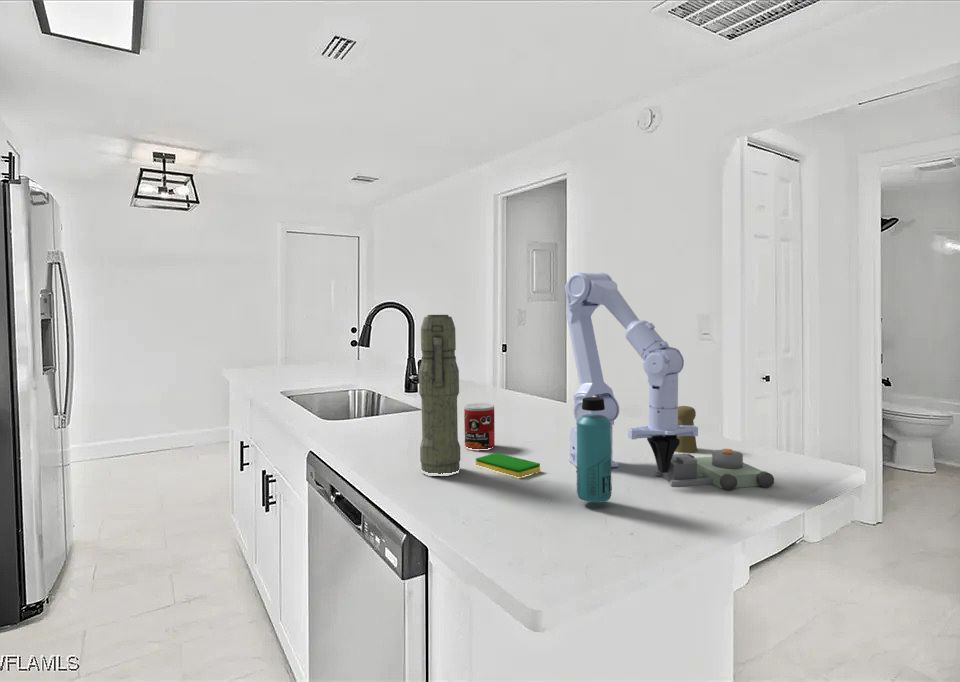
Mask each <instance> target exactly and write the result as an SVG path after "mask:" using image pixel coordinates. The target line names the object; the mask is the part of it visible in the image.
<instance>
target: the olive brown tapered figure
mask: <svg viewBox="0 0 960 682" xmlns="http://www.w3.org/2000/svg"><path fill="white" fill-rule="evenodd" d="M696 413H697V411H696V409H695V408H693V407H692V406H688V405H678V425H694V426H695V424H694V423H695V422H694V421H695V419H696V415H697V414H696ZM677 438H678V439H680V443H679V445H678V447H677V449H676V450H675V452H676V453H680V454H692V453H693V454H694V453H697V452H698V447H697V441H696V439H697V438H696V436H677Z"/></svg>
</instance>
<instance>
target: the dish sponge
mask: <svg viewBox="0 0 960 682" xmlns="http://www.w3.org/2000/svg"><path fill="white" fill-rule="evenodd" d="M476 465H479V466H482V467H486V468H489V469H492V470H495V471H499V472H502V473H506V474H509V475H513V476H516V477H522V476H525V475H529V474H532V473H536V472H539V471H540V472H541V463H540V462H539V463H538V462H535V461H530V460H527V459H523V458H519V457H515V456H512V455H511V456H510V455H507V454H503V453H500V452H494V453H492V454H487V455H483V456H480V457H476V458H475V466H476Z"/></svg>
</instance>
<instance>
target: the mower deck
mask: <svg viewBox="0 0 960 682" xmlns="http://www.w3.org/2000/svg"><path fill="white" fill-rule="evenodd" d="M685 454H686V455H688V456H690V457H692V458H694V459H696V460H697V477H700V478H697V479H686V480H670V481H669V486H670V487H684V486H685V487H686V486H700V485H701V486H702V485H715V486H716V487H718V488H720V489H725V490H727V491H733V490H735V489H736V488H746V487H747V488H748V487H749V486H751V487H763V488H766V489H767V488H771V487H772V486H773V485H774V483H775V477H774V475H773V474H771V472H767V471H765V470H762V469H758V468H757V467H755V466H752V465H750V464H747V463H745V462H744V454H743V453H742V452H739V451H734V449H731V448H723V449H718V450H713V451H712V452H711V454H712V455H711V456H702V457H695V456H694V455H693V454H691V453H685ZM654 476H655V477H663V473H662V472H660V471H658V470H654Z"/></svg>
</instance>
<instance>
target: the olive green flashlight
mask: <svg viewBox="0 0 960 682" xmlns="http://www.w3.org/2000/svg"><path fill="white" fill-rule="evenodd" d="M421 323H422V324H421V327H420V350H421V358H420V360H421V362H420V365H419V369H418V388H419V389H418V390H419V391H418V392H419V396H420V398H421V429H422V430H421V432H422V433H421V436H422V437H421V438H422V439H421V442H420V446H419V458H420V464H421V467H420V468H421V469H422V470H423V471H425V472H428V473H438V474H441V473H442V474H443V473H452V472H456V471H458V470H459V468H461V467H460V465H461V464H460V462H461V445H460V442H459V437H458V436H459V433H458V431H459V430H458V396H459V394H460V370H459V367H458V363H457V356H456V350H457V348H456V347H457V346H456V344H457V343H456V326H455V323H454V321H453V317H452V316H449V314H427V315H426V316H424V317H423V319H422V322H421Z"/></svg>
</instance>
